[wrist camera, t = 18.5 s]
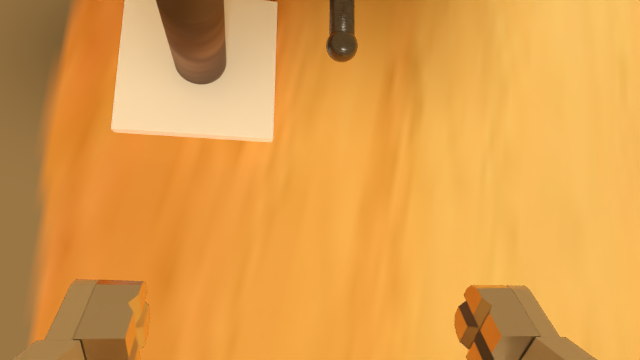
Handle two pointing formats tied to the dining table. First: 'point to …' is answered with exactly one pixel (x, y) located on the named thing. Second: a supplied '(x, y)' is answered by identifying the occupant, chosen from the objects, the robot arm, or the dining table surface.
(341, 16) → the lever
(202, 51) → the walnut peg
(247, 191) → the dining table surface
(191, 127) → the plate
